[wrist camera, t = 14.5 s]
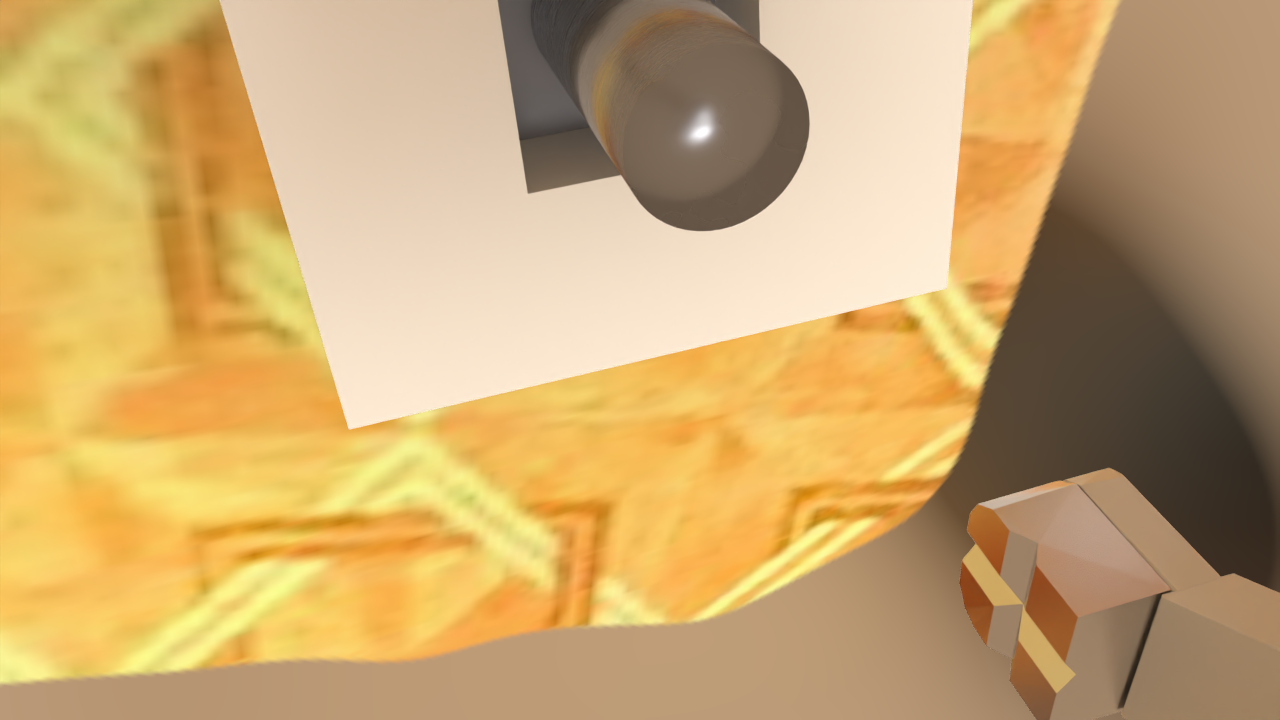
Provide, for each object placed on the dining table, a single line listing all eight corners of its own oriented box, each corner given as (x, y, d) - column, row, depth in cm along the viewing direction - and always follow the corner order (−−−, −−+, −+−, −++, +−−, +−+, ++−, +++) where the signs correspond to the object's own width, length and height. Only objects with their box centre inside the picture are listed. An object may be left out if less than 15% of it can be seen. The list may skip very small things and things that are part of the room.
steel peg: (520, -53, 31) (613, 62, 23) (671, -76, 32) (811, 27, 24) (541, 97, 33) (630, 248, 25) (679, 72, 34) (808, 211, 26)
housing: (130, -357, 25) (112, -353, 22) (929, -439, 29) (1013, -447, 26) (340, 359, 37) (348, 429, 33) (892, 235, 40) (946, 288, 37)
